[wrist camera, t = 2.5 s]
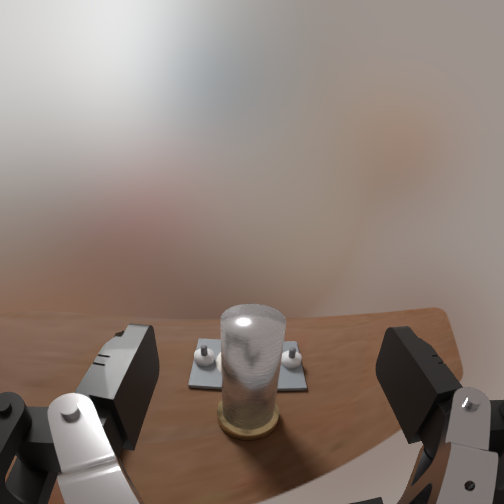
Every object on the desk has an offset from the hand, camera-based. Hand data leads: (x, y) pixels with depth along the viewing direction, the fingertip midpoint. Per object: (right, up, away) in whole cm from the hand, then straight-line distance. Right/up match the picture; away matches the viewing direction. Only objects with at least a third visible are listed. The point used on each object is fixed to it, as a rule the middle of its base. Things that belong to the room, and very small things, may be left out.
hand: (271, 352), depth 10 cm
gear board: (-1, -10, +25) cm, 27 cm away
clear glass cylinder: (-1, -13, +17) cm, 22 cm away
